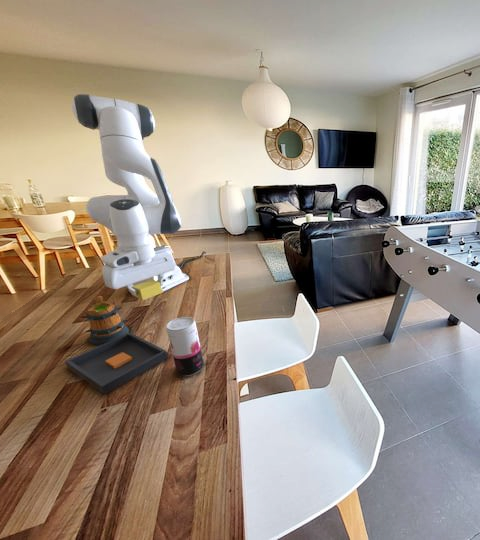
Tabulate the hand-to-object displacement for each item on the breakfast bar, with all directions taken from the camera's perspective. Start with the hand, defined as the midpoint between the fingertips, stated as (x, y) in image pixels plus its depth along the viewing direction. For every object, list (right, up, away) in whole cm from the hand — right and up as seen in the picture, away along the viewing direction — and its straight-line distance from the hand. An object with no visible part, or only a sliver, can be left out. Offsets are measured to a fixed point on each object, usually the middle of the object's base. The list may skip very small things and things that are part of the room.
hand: (147, 290), depth 97 cm
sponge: (0, -2, +1) cm, 2 cm away
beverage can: (+25, -21, -17) cm, 37 cm away
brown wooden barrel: (-9, -14, -4) cm, 17 cm away
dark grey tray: (+4, -19, -17) cm, 26 cm away
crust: (+4, -19, -17) cm, 26 cm away
